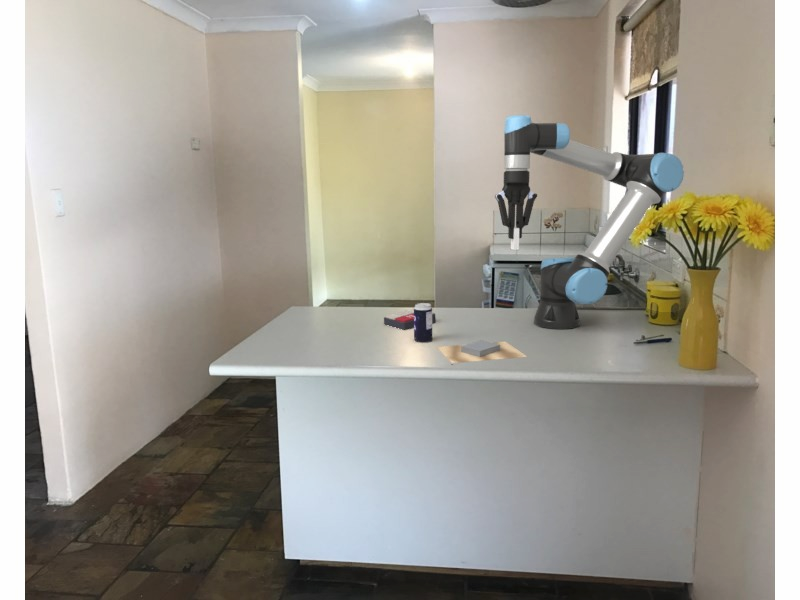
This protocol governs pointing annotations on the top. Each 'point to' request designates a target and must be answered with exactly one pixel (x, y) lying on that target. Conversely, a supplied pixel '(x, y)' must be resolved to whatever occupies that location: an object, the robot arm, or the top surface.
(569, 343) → the top surface
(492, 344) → the slate tile
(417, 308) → the beverage can
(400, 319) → the calculator
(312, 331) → the top surface
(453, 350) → the cork mat
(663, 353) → the top surface
